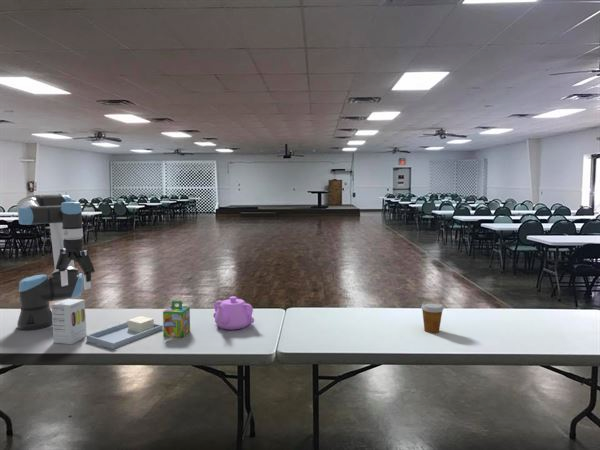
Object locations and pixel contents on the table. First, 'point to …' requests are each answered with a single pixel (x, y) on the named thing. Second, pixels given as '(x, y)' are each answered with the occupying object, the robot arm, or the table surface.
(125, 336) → the blue-grey tray
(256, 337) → the table surface
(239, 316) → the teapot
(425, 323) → the disposable coffee cup
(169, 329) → the chalk box
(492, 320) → the table surface
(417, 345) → the table surface
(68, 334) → the supplement box
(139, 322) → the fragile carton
